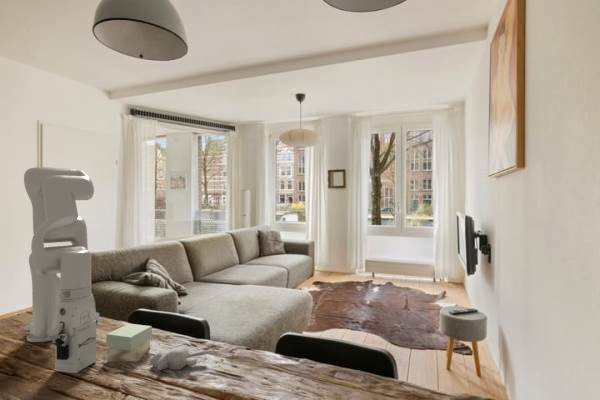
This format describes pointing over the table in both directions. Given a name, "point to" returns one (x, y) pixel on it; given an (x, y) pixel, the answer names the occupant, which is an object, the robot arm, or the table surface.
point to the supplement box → (79, 349)
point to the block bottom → (127, 353)
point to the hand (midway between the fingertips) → (76, 351)
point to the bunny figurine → (175, 358)
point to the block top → (129, 337)
